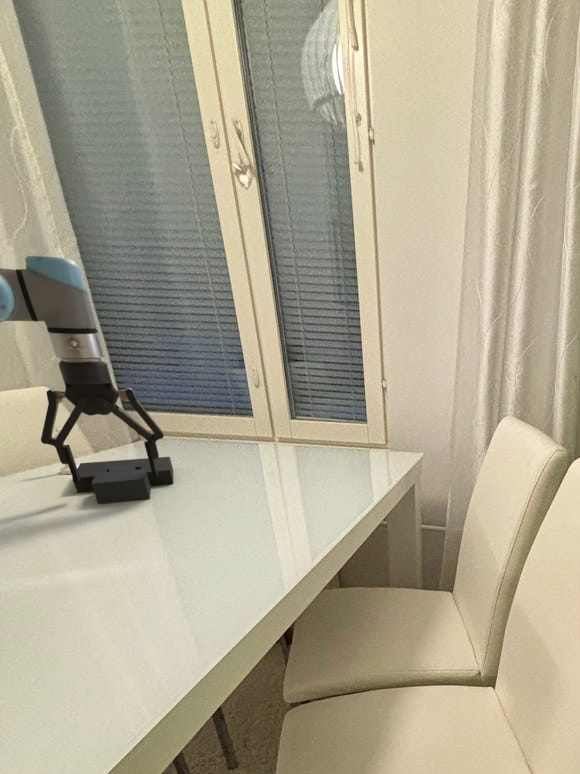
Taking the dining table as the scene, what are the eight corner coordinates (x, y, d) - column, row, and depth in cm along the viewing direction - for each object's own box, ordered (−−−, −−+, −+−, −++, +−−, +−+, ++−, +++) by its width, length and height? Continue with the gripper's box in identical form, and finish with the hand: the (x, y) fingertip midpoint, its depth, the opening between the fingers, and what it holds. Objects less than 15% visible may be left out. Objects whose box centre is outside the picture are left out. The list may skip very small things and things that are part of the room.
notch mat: (77, 492, 114) (71, 478, 112) (85, 476, 124) (80, 463, 123) (173, 483, 120) (169, 470, 119) (173, 469, 131) (169, 456, 130)
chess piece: (66, 475, 125) (49, 429, 120) (56, 472, 127) (39, 426, 122) (89, 471, 128) (74, 426, 123) (79, 468, 131) (63, 423, 125)
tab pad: (98, 504, 107) (91, 483, 105) (104, 486, 118) (98, 467, 116) (149, 498, 111) (144, 479, 109) (151, 481, 121) (146, 463, 119)
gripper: (-9, 361, 92) (38, 487, 103) (158, 361, 102) (186, 477, 112) (1, 358, 98) (45, 478, 108) (159, 358, 107) (185, 468, 118)
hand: (117, 477), depth 110 cm, fingers open, 13 cm apart
